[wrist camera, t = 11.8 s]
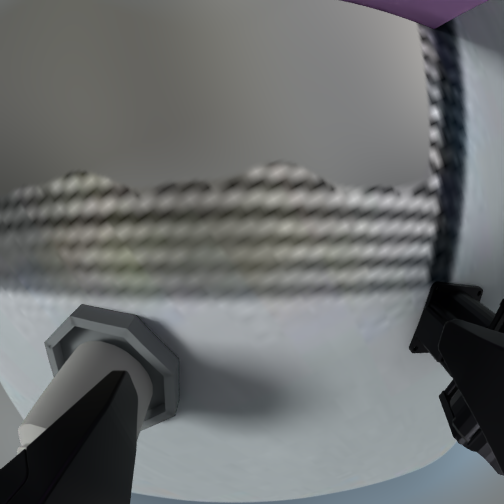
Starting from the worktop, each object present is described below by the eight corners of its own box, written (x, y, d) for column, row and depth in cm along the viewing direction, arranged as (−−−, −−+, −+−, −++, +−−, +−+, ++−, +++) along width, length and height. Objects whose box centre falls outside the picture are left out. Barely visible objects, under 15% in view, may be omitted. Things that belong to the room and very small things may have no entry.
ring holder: (179, 322, 21) (174, 337, 19) (179, 422, 24) (176, 438, 22) (49, 296, 20) (36, 306, 18) (72, 396, 24) (64, 408, 22)
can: (161, 408, 23) (130, 522, 11) (88, 395, 23) (39, 490, 11) (148, 340, 21) (90, 470, 9) (67, 329, 20) (-13, 426, 9)
